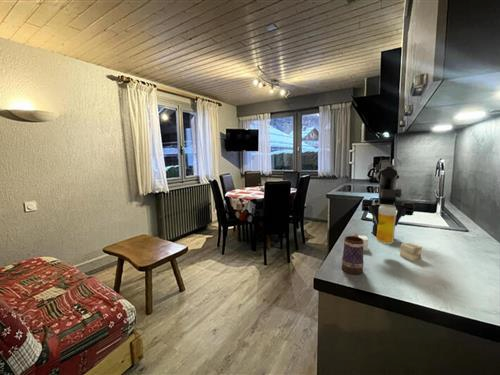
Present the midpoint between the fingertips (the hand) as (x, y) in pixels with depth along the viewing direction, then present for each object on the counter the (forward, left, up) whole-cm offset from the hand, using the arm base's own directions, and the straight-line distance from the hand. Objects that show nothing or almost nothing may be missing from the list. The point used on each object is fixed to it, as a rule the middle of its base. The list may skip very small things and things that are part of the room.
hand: (386, 224), depth 92 cm
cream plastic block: (+5, -9, -13) cm, 17 cm away
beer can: (-1, -1, -8) cm, 8 cm away
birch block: (-10, +1, -13) cm, 17 cm away
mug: (+18, +9, -13) cm, 24 cm away
